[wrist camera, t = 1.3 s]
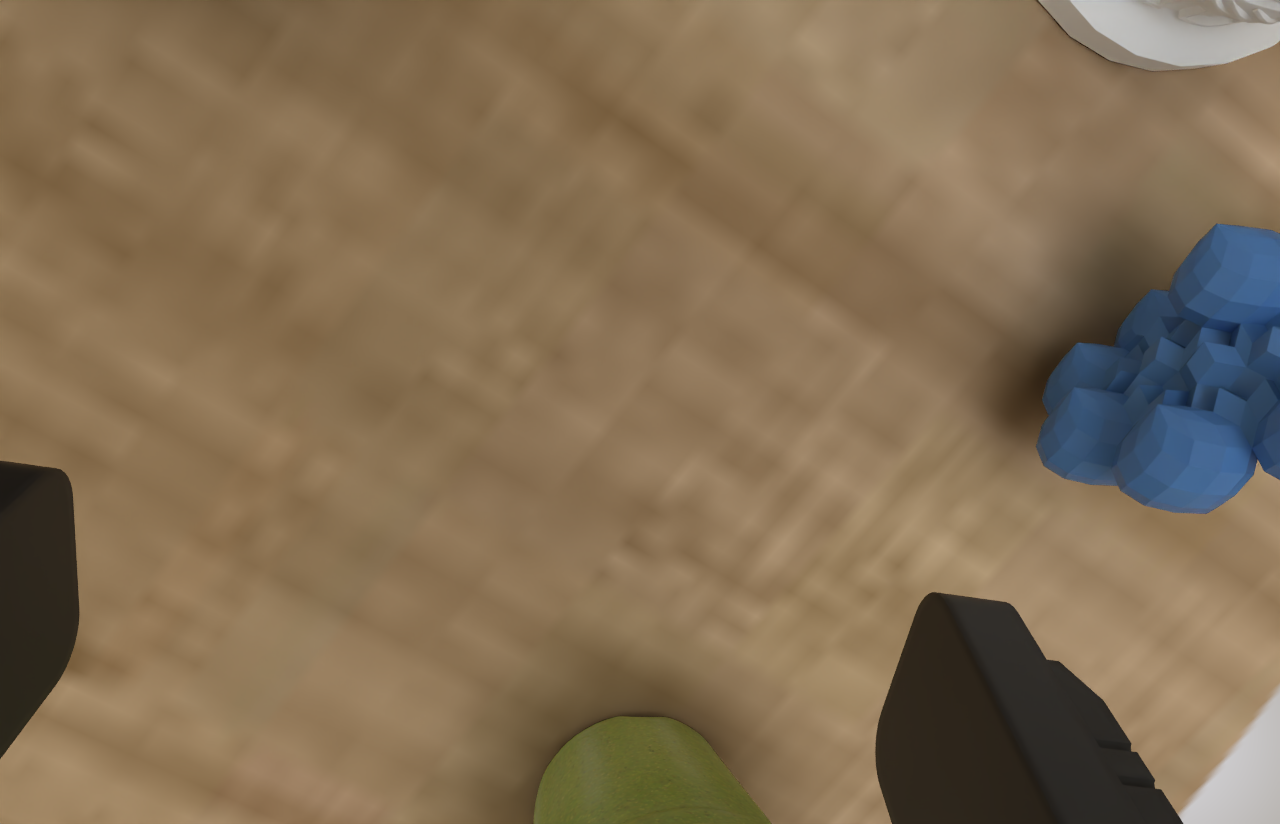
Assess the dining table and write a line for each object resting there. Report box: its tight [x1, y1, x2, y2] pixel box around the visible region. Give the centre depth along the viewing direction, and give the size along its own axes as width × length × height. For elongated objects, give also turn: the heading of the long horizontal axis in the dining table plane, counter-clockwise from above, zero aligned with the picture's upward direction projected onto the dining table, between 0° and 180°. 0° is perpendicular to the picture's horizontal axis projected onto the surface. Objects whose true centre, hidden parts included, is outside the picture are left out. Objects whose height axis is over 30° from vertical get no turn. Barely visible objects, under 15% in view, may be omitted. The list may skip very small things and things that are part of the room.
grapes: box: [1036, 224, 1280, 514], centre depth 27 cm, size 12×7×12 cm, turn 122°
